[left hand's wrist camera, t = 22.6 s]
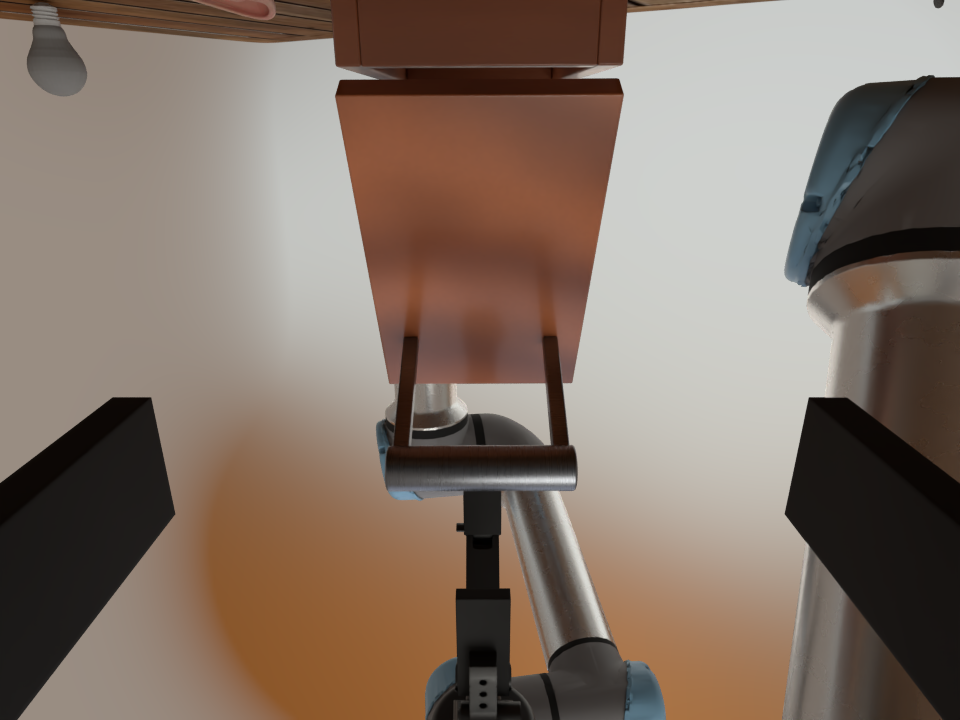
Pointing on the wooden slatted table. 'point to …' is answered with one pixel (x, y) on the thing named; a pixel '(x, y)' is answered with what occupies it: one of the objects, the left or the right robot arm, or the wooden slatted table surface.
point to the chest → (478, 38)
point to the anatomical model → (245, 7)
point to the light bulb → (53, 55)
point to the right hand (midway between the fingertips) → (482, 511)
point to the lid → (480, 250)
